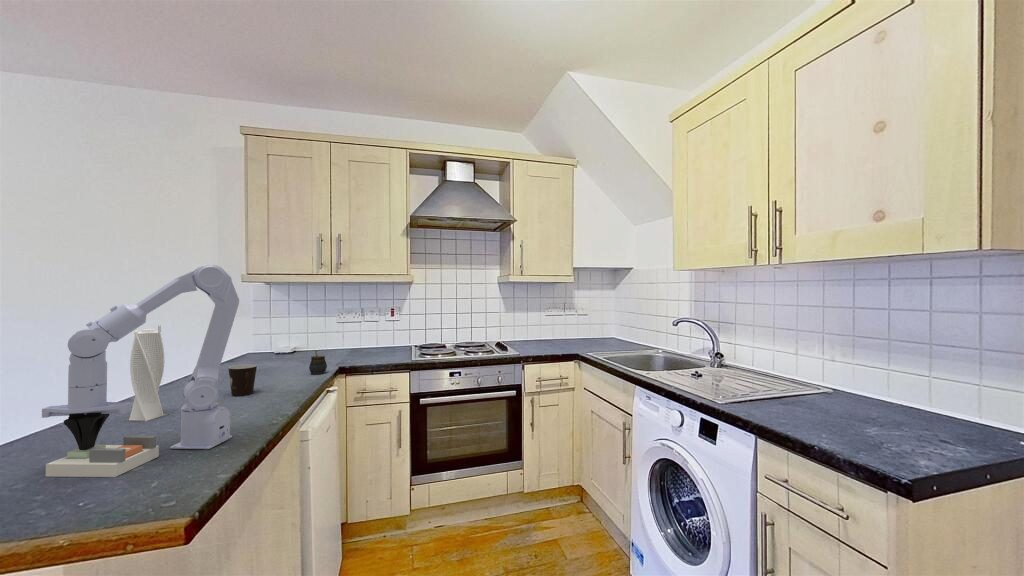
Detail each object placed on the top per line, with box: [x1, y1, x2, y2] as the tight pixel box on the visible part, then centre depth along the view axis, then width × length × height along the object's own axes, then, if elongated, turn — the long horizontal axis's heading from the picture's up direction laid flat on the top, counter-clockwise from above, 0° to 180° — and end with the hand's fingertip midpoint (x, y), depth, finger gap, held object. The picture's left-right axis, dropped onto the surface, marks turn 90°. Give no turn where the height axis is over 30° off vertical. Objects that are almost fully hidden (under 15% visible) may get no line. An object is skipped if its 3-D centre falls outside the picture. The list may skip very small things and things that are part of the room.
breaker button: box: [115, 445, 142, 459], centre depth 86 cm, size 4×4×3 cm
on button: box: [66, 444, 107, 459], centre depth 86 cm, size 4×4×3 cm
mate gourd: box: [308, 350, 328, 376], centre depth 182 cm, size 7×8×10 cm
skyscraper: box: [124, 323, 169, 423], centre depth 118 cm, size 8×8×28 cm
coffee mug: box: [228, 364, 258, 397], centre depth 144 cm, size 12×9×10 cm
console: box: [45, 435, 160, 478], centre depth 86 cm, size 14×10×5 cm
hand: (86, 448), depth 86 cm, fingers closed, pressing on on button
